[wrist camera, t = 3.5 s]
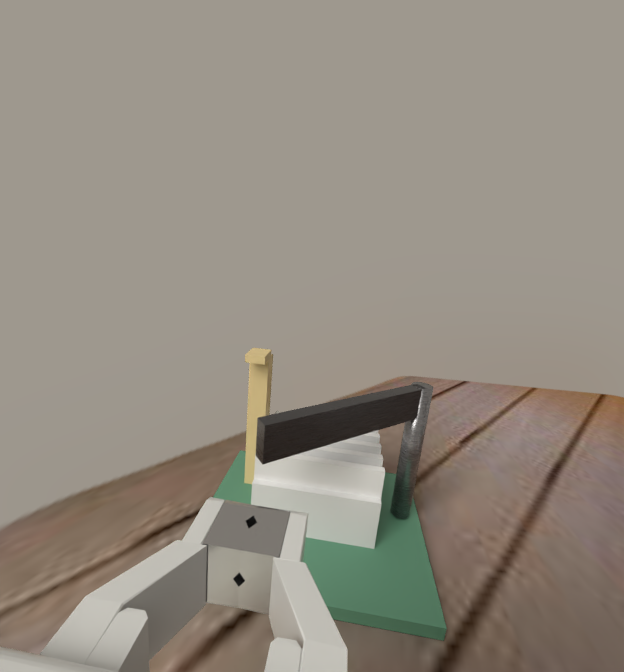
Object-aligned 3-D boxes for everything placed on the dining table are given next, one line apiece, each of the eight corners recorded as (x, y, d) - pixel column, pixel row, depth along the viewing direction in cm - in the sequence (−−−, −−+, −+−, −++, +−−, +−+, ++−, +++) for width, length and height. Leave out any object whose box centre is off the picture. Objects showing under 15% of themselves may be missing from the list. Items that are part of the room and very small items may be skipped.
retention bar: (399, 502, 37) (420, 380, 33) (413, 514, 35) (437, 388, 32) (246, 577, 27) (255, 415, 24) (257, 598, 25) (267, 428, 22)
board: (406, 483, 42) (429, 355, 38) (443, 640, 25) (493, 437, 21) (239, 458, 45) (245, 334, 40) (167, 587, 27) (163, 392, 23)
